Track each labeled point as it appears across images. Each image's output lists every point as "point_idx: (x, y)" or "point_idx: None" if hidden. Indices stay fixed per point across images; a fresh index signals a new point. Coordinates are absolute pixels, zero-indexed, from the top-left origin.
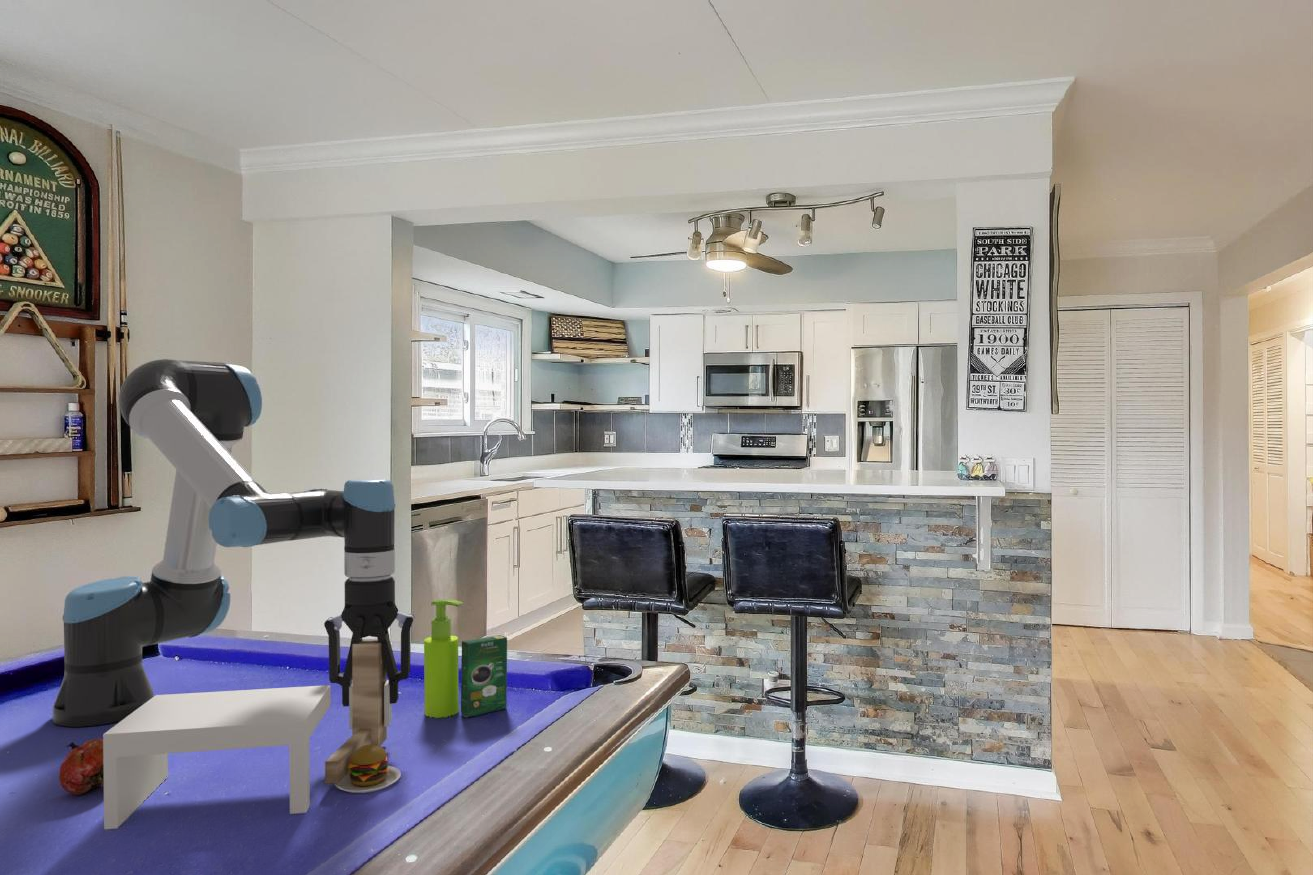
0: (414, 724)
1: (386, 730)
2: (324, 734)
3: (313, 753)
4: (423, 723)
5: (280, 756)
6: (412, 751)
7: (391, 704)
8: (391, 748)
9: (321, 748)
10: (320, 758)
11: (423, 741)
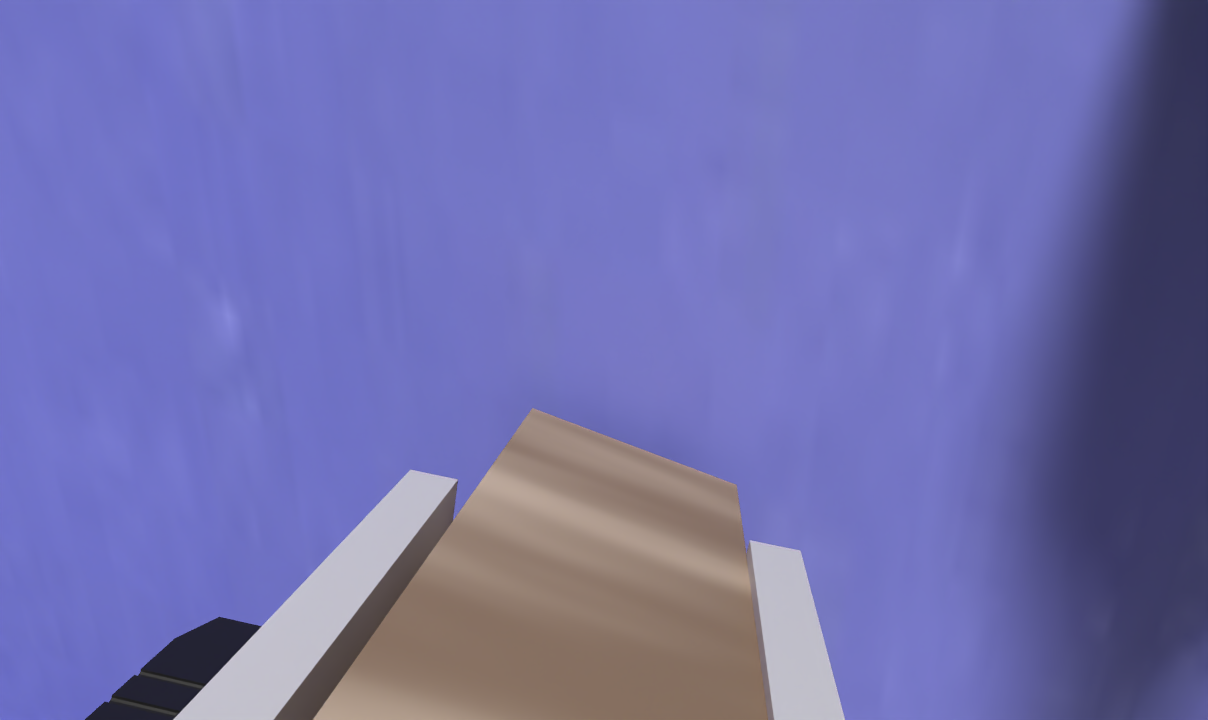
0: (1049, 14)
1: (739, 515)
2: (225, 9)
3: (213, 435)
4: (1146, 15)
5: (4, 404)
6: (910, 680)
7: (826, 665)
8: None
9: (252, 353)
10: (275, 549)
11: (1035, 512)
